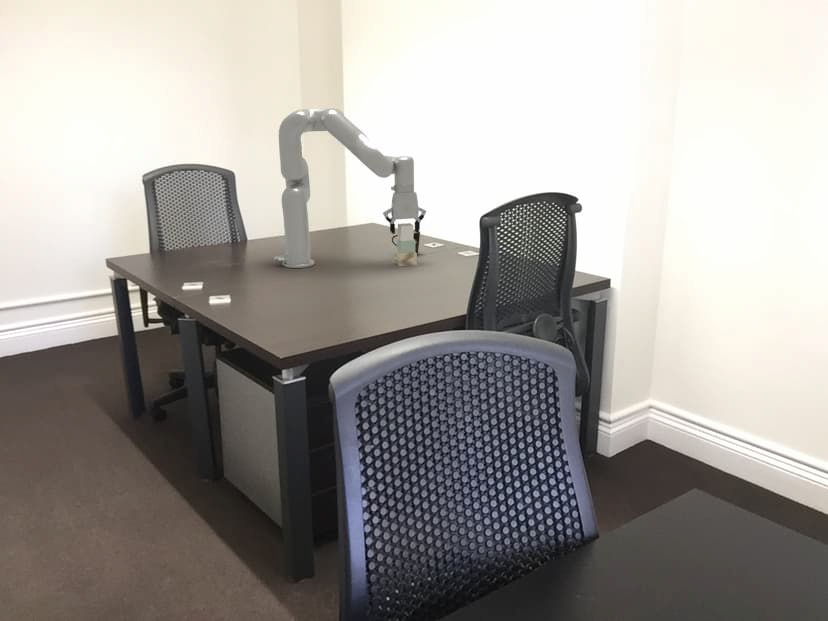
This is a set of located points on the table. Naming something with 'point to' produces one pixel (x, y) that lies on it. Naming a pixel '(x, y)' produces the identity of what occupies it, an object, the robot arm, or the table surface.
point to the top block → (405, 232)
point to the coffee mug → (416, 238)
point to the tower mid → (405, 246)
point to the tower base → (405, 259)
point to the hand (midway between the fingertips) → (405, 232)
